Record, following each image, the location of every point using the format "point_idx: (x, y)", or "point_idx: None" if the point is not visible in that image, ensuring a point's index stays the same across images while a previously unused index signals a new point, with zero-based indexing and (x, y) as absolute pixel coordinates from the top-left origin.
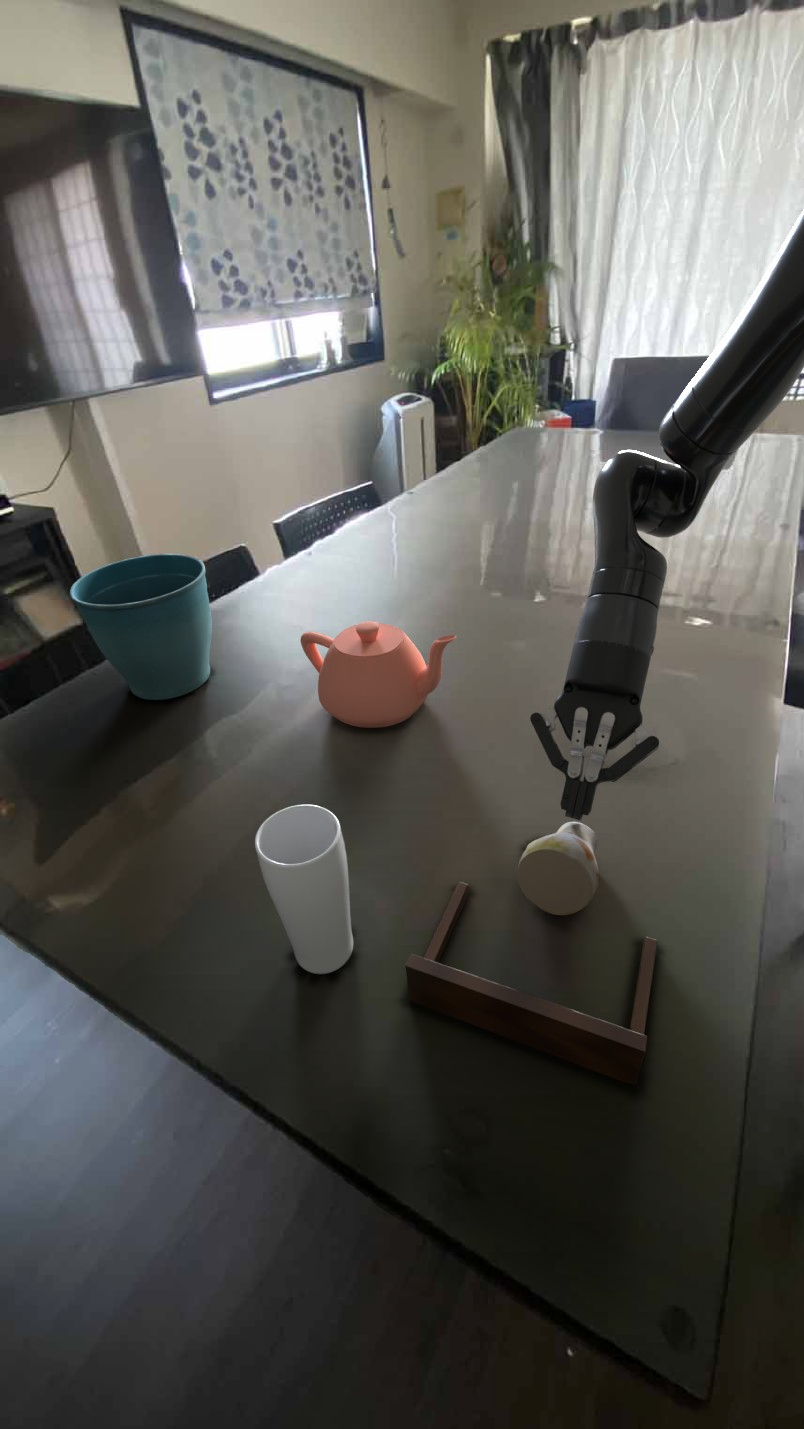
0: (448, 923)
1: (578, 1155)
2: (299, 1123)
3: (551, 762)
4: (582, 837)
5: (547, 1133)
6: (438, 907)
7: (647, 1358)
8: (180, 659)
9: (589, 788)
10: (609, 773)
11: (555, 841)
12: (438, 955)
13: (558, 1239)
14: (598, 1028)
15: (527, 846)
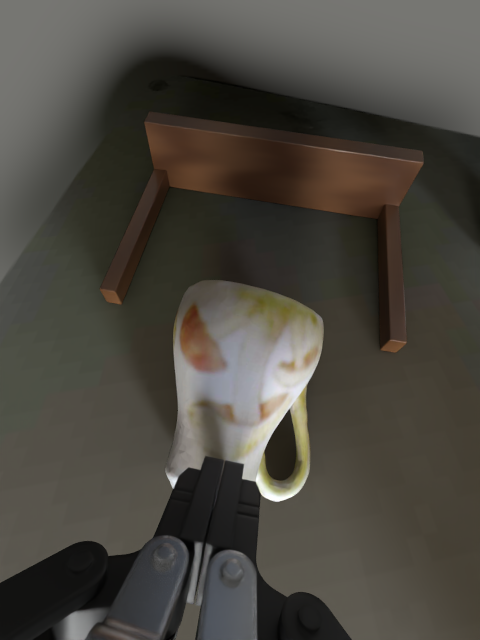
0: (390, 272)
1: None
2: (425, 128)
3: (328, 615)
4: (200, 415)
5: None
6: (412, 321)
7: (177, 76)
8: None
9: (174, 531)
10: (88, 561)
11: (265, 314)
12: (383, 240)
13: (226, 103)
14: (194, 123)
15: (308, 466)
